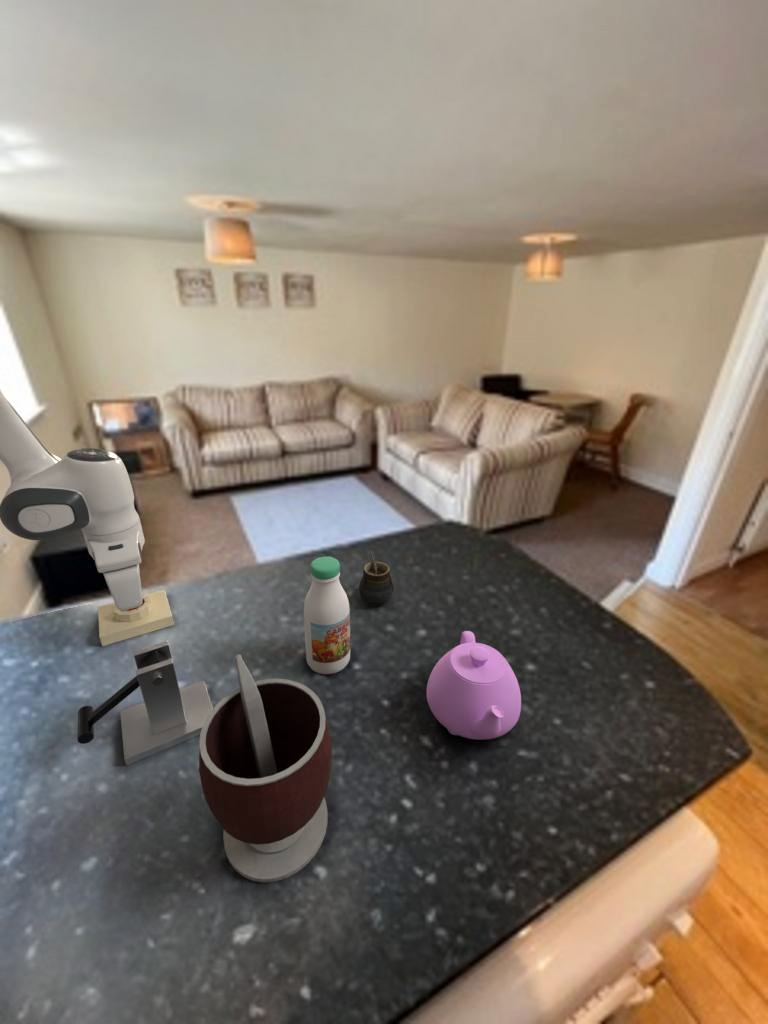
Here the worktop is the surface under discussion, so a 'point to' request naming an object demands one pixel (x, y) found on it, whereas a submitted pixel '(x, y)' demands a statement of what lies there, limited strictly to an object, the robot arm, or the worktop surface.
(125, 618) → the button box
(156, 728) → the bracket
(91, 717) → the lever
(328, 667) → the milk bottle
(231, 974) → the worktop surface
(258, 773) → the mate gourd
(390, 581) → the mate gourd
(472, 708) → the teapot
